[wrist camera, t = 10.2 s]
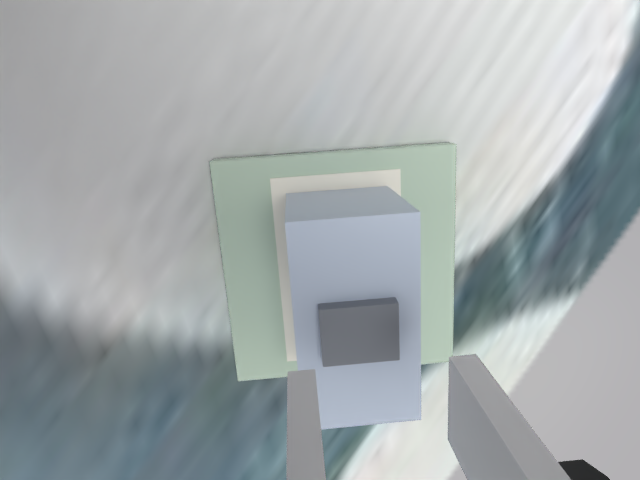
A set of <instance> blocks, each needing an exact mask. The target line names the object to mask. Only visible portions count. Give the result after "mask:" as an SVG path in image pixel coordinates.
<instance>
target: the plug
mask: <svg viewBox="0 0 640 480" xmlns="http://www.w3.org/2000/svg"><path fill="white" fill-rule="evenodd" d="M285 231H286V242H287V253H288V265H289V276H290V288H291V299H292V310H293V322H294V333H295V345H296V356H297V367H298V371H299V370H310V369H315V372H316V383H317V393H318V403H319V413H320V424H321V429H330V428H341V427H351V426H361V425H372V424H382V423H392V422H403V421H413V420H421V223H420V211H419V210H417V209H416V208H415V207H413V206H412V205H411V204H410V203H408V202H407V201H406V200H405V199H403V198H402V197H401V196H399V195H398V194H397V193H396V192H394V191H393V190H392V189H391V188H389V187H388V186H379V187H366V188H353V189H339V190H326V191H312V192H299V193H286V207H285Z"/></svg>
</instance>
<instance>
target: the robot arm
mask: <svg viewBox="0 0 640 480" xmlns="http://www.w3.org/2000/svg"><path fill="white" fill-rule="evenodd" d="M448 441H449V443H450V445H451V447H452V449H453V451H454V453H455V455H456V457H457V459H458V461H459V464H460V466H461V468H462V470H463V472H464V474H465V476H466V478H467V480H610V479H609V478H608V477H607V476H606V475H604V474H603V473H601V472H600V471H598V470H597V469H596V468H594V467H593V466H591V465H590V464H588V463H587V462H585V461H584V460H574V461H563V462H557V460H556V459H555V458H554V456H553V455H552V454H551V453H550V451H549V450H548V449H547V447H546V446H545V445H544V443H543V442H542V441H541V439H540V438H539V437H538V435H537V434H536V433H535V431H534V430H533V429H532V427H531V426H530V425H529V424H528V422H527V421H526V420H525V418H524V417H523V416H522V414H521V413H520V412H519V410H518V409H517V408H516V407H515V405H514V404H513V402H512V401H511V400H510V399H509V397H508V396H507V395H506V393H505V392H504V391H503V389H502V388H501V387H500V385H499V384H498V383H497V381H496V380H495V379H494V377H493V376H492V375H491V374H490V372H489V371H488V370H487V368H486V367H485V366H484V364H483V363H482V362H481V360H480V359H479V358H478V356H477V355H476V354H473V355H462V356H452V357H449V393H448ZM287 480H326V475H325V465H324V455H323V444H322V434H321V424H320V413H319V403H318V393H317V383H316V372H315V369H310V370H299V371H288V376H287Z"/></svg>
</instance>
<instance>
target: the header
mask: <svg viewBox="0 0 640 480" xmlns="http://www.w3.org/2000/svg"><path fill="white" fill-rule="evenodd" d="M209 164H210V171H211V179H212V187H213V194H214V202H215V210H216V217H217V225H218V233H219V240H220V248H221V255H222V263H223V271H224V278H225V286H226V294H227V301H228V309H229V317H230V324H231V332H232V340H233V347H234V355H235V363H236V370H237V378H238V381H247V380H258V379H269V378H279V377H287V376H288V371H298V367H297V356H296V345H295V333H294V322H293V310H292V299H291V288H290V276H289V265H288V253H287V242H286V231H285V207H286V193H299V192H312V191H326V190H339V189H353V188H366V187H379V186H388V187H389V188H391V189H392V190H393V191H394V192H396V193H397V194H398V195H399V196H401V197H402V198H403V199H405V200H406V201H407V202H408V203H410V204H411V205H412V206H413V207H415V208H416V209H417V210H419V211H420V223H421V364H431V363H442V362H449V357H452V356H453V309H454V252H455V196H456V144H454V143H449V142H447V143H433V144H419V145H405V146H391V147H377V148H363V149H349V150H335V151H321V152H307V153H293V154H279V155H265V156H251V157H237V158H223V159H213V160H211V161H210V162H209Z"/></svg>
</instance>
